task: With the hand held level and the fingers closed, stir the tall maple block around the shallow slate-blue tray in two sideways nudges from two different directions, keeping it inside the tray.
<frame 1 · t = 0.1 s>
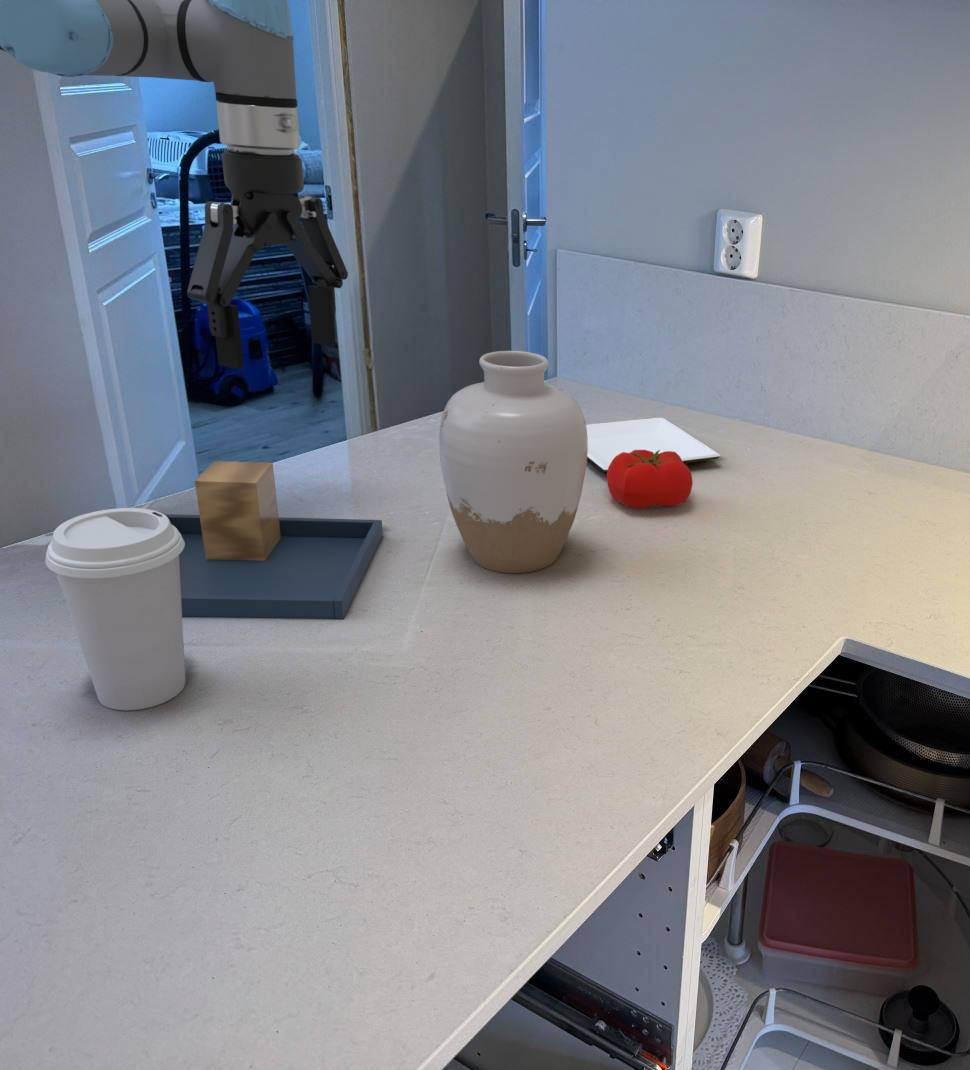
hand: (280, 355, 110), 20 cm above the worktop, tool pointing down, fingers open, 13 cm apart
block: (244, 548, 108), resting on tray
tomato: (648, 503, 130), on the worktop
tray: (248, 575, 104), on the worktop
plate: (635, 454, 147), on the worktop
coffee cup: (143, 690, 84), on the worktop
vase: (515, 556, 113), on the worktop
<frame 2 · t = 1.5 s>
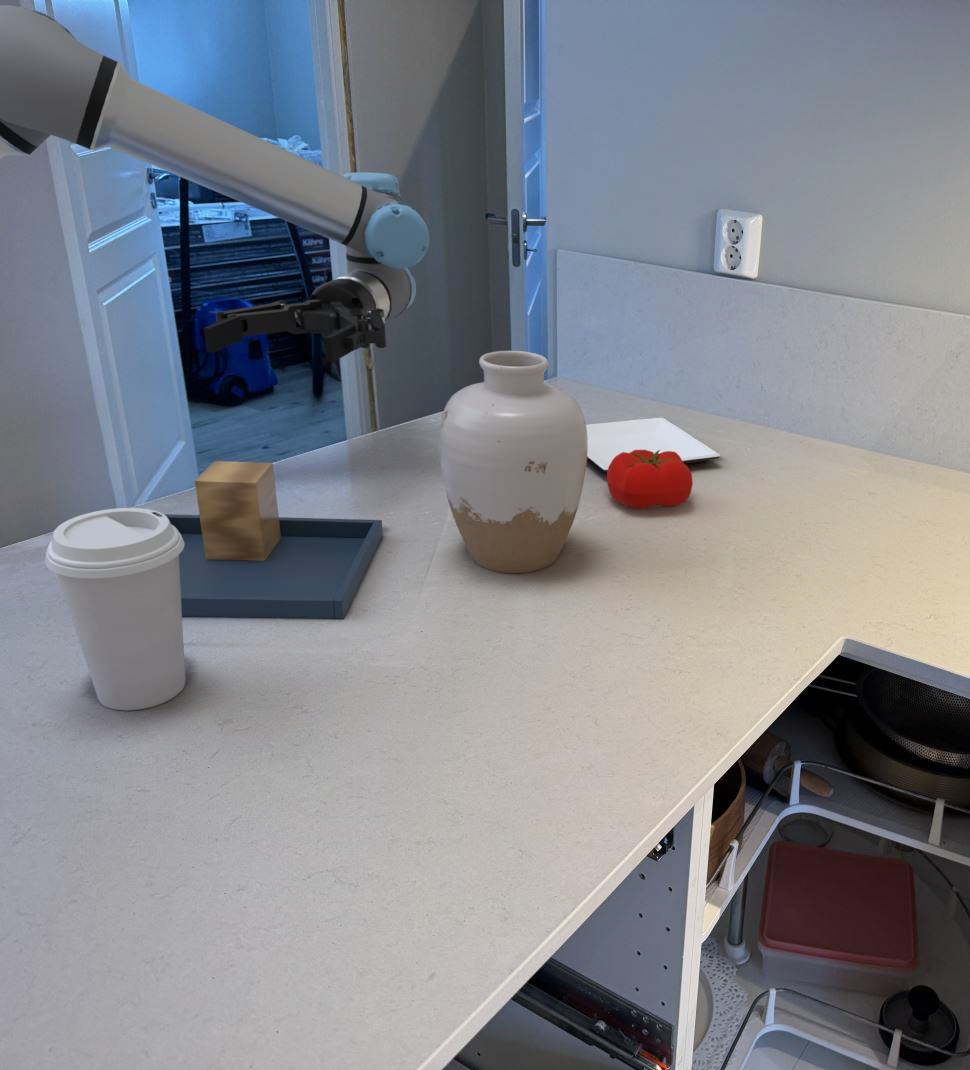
hand: (268, 345, 109), 21 cm above the worktop, tool horizontal, fingers open, 13 cm apart
nothing on the worktop moved.
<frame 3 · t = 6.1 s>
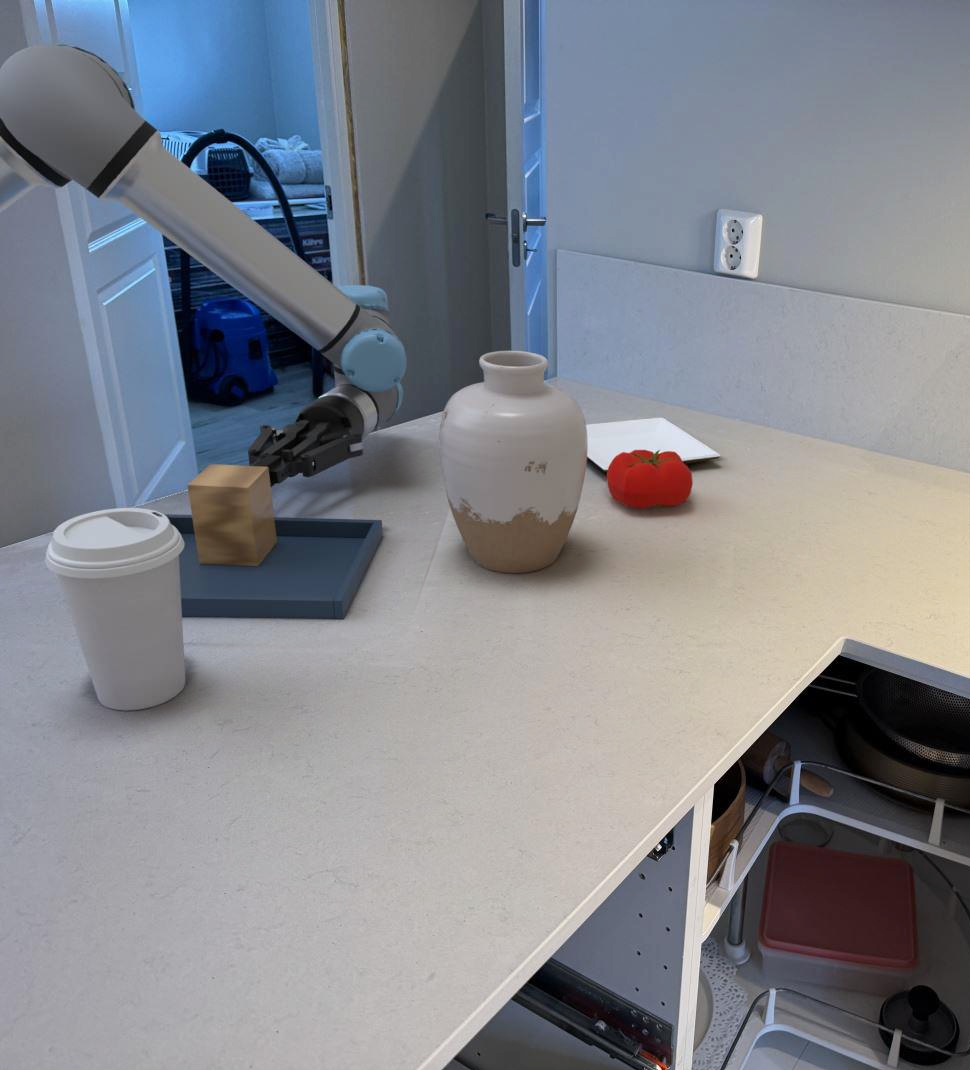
hand: (247, 486, 107), 7 cm above the worktop, tool horizontal, fingers closed
block: (239, 552, 107), point 1 cm above the worktop, touching gripper
everything else where it was.
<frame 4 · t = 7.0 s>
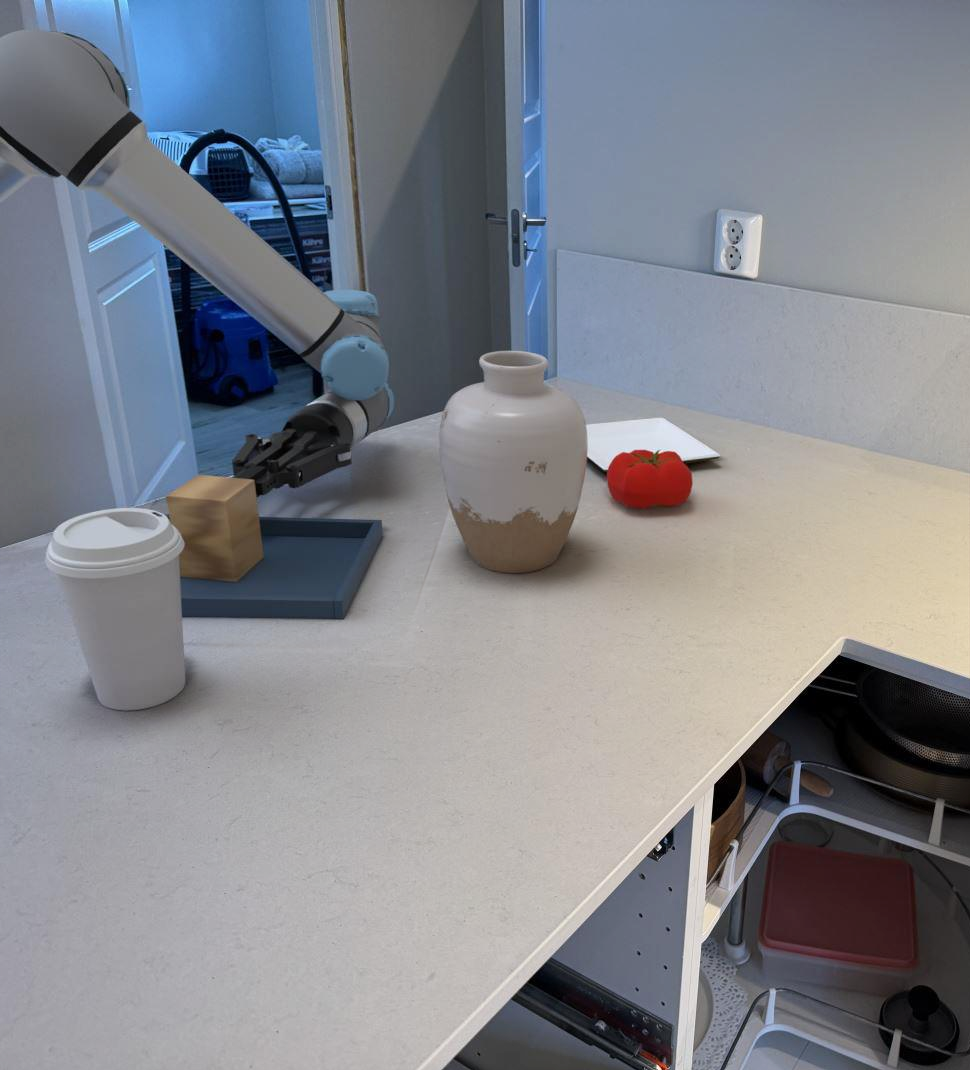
hand: (231, 498, 104), 7 cm above the worktop, tool horizontal, fingers closed
block: (222, 566, 104), point 1 cm above the worktop, touching gripper
everything else where it was.
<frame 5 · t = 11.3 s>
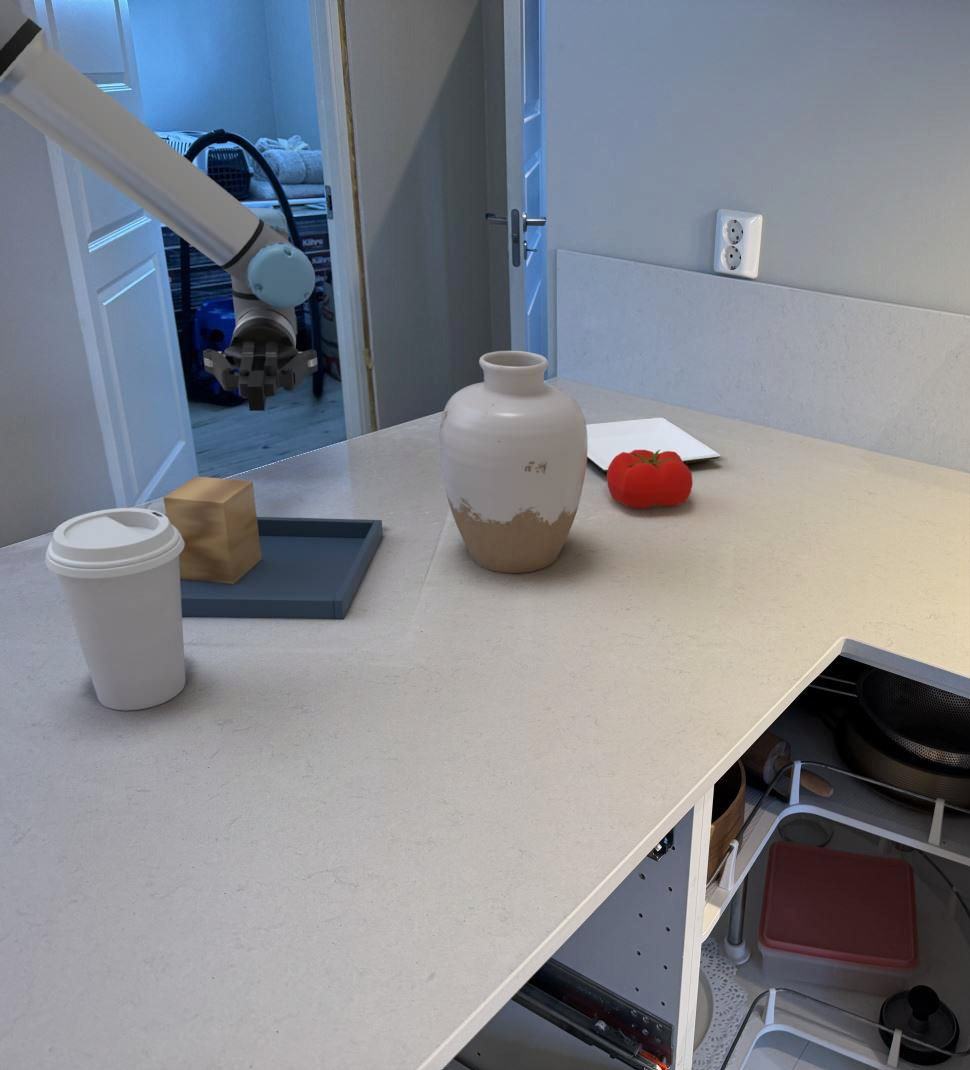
hand: (255, 398, 107), 16 cm above the worktop, tool horizontal, fingers closed
block: (220, 569, 103), resting on tray
everything else where it was.
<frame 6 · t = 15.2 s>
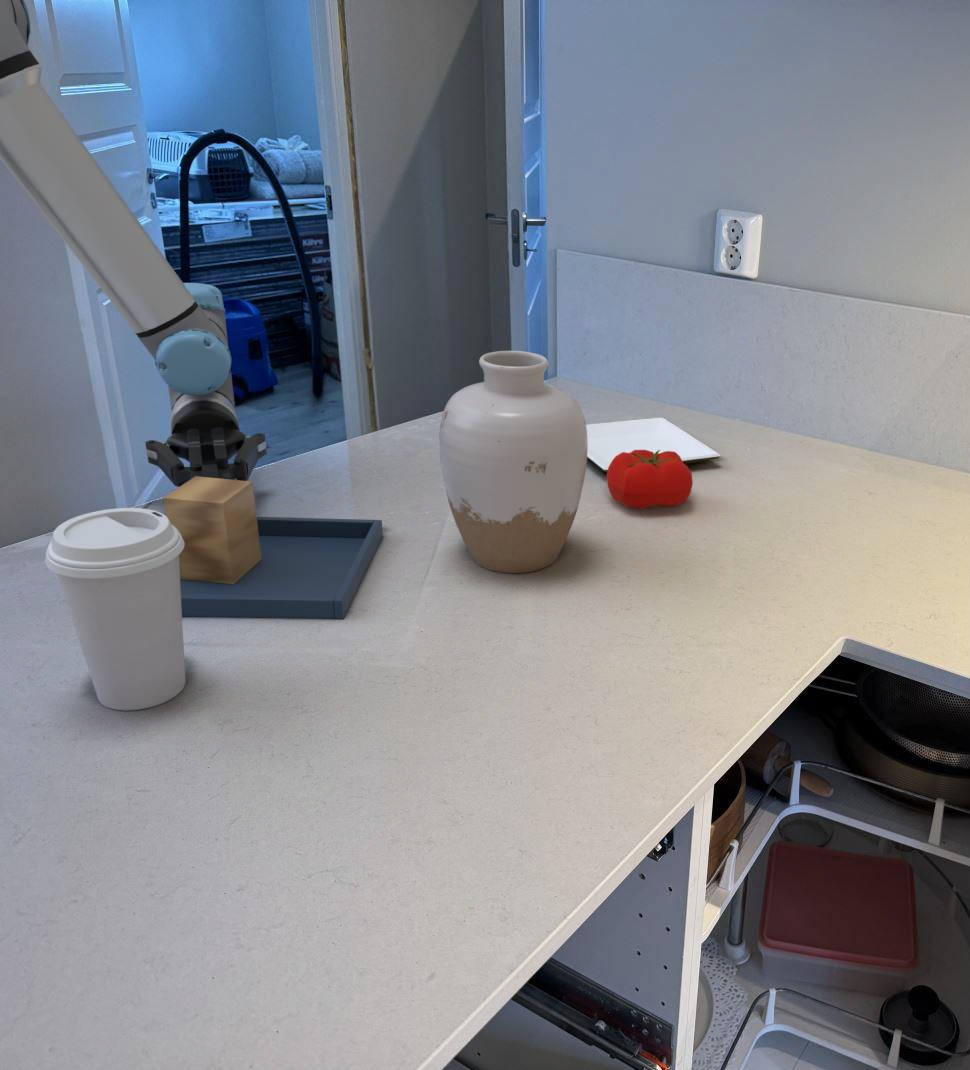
hand: (213, 497, 104), 7 cm above the worktop, tool horizontal, fingers closed
block: (220, 569, 103), point 1 cm above the worktop, touching gripper
everything else where it was.
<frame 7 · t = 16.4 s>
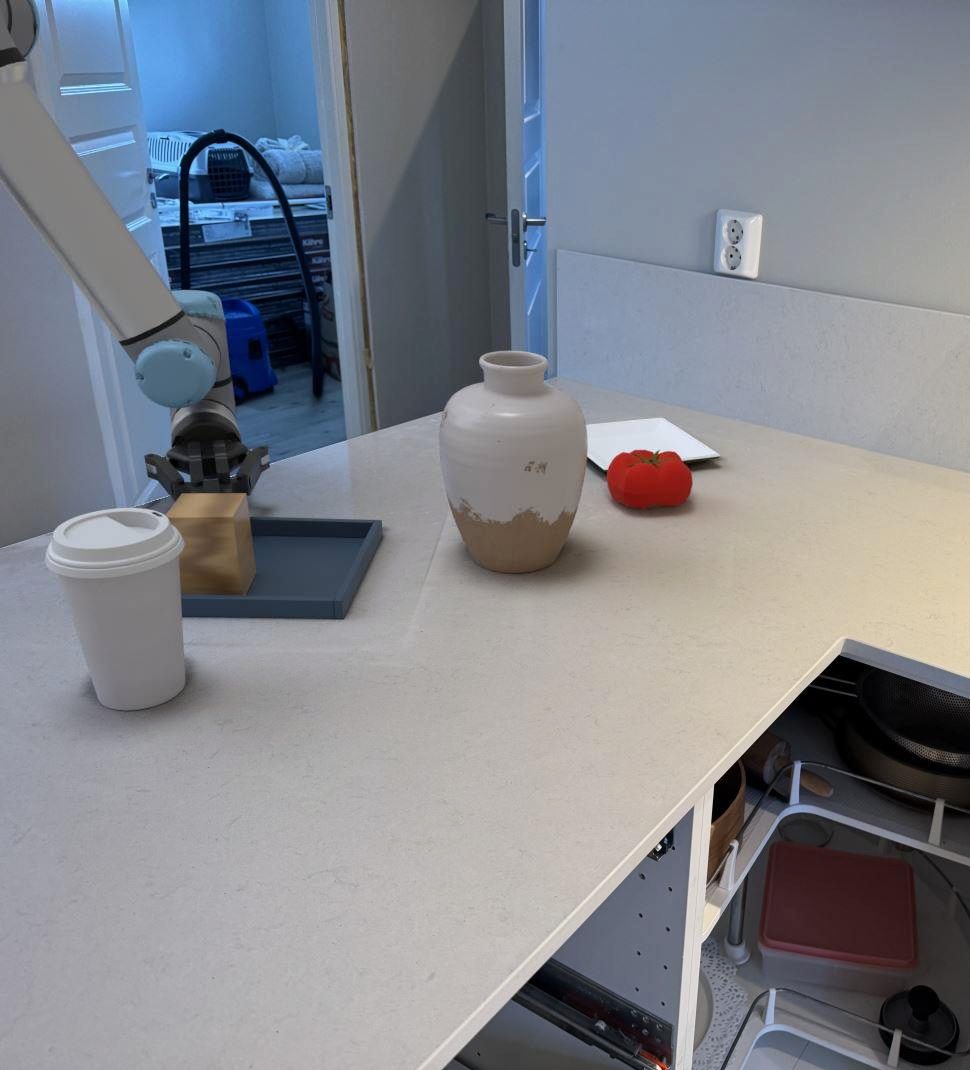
hand: (214, 514, 100), 7 cm above the worktop, tool horizontal, fingers closed
block: (218, 587, 100), point 1 cm above the worktop
everything else where it was.
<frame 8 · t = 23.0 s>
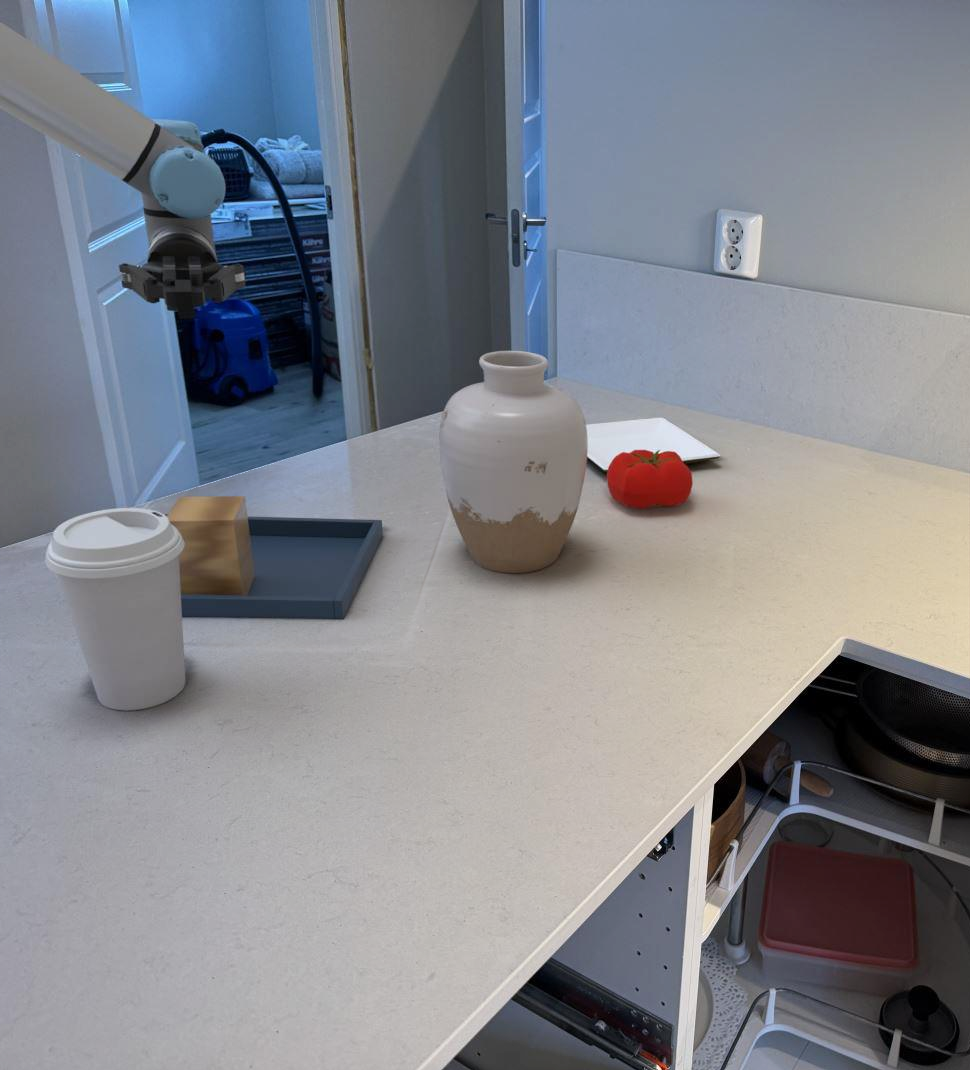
hand: (185, 305, 101), 26 cm above the worktop, tool horizontal, fingers closed
block: (217, 590, 99), resting on tray
everything else where it was.
at the end: block moved 9.9 cm from its start; block inside the target area in the tray (4.7 cm from its centre), point 0.5 cm above the tray's base; coffee cup tilted 0° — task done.
